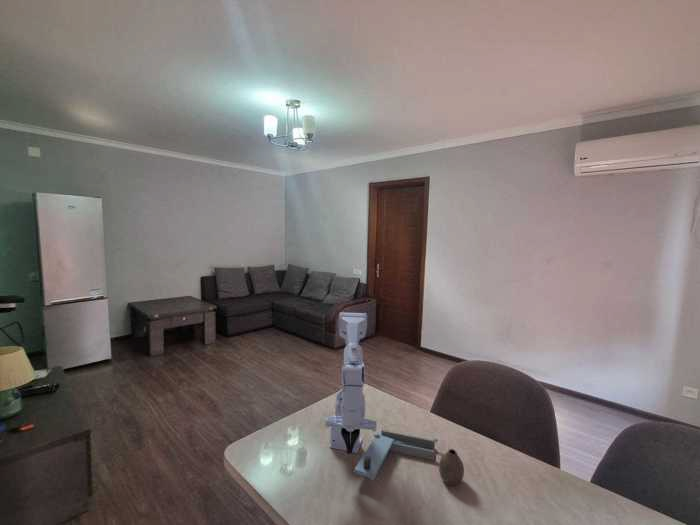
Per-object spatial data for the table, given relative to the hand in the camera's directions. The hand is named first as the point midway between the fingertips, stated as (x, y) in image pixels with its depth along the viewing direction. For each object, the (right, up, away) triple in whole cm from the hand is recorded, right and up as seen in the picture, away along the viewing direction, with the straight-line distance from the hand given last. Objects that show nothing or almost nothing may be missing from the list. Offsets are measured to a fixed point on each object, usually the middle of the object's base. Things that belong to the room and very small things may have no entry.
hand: (349, 451), depth 91 cm
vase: (+29, -9, +1) cm, 31 cm away
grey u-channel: (+19, -7, +14) cm, 25 cm away
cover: (+8, -5, +5) cm, 10 cm away
